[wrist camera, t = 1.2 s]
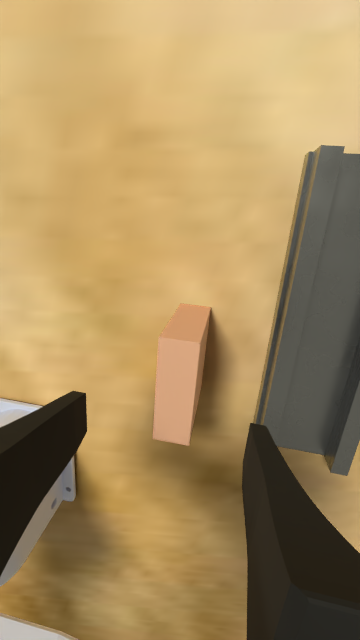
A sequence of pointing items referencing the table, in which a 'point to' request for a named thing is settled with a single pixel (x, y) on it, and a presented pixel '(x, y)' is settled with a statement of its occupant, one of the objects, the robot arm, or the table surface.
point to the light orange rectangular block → (180, 373)
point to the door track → (318, 318)
